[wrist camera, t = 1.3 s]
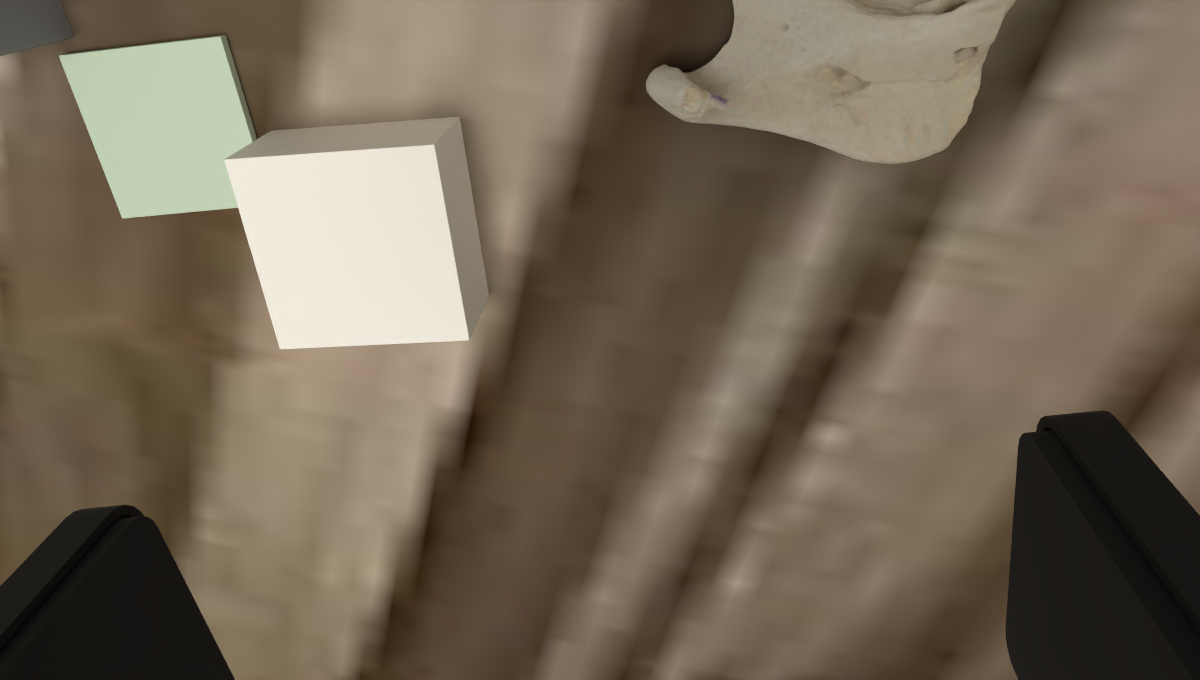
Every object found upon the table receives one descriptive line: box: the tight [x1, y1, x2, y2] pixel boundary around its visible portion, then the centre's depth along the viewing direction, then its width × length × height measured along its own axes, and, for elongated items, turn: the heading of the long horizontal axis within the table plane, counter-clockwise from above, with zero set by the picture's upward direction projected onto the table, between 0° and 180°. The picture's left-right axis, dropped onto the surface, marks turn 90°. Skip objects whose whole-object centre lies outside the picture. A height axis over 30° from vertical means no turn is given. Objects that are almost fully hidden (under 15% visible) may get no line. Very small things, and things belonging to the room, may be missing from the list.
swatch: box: [59, 35, 257, 218], centre depth 31 cm, size 6×6×1 cm
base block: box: [224, 117, 489, 349], centre depth 31 cm, size 7×7×4 cm
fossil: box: [646, 0, 1016, 164], centre depth 27 cm, size 7×11×3 cm, turn 81°
